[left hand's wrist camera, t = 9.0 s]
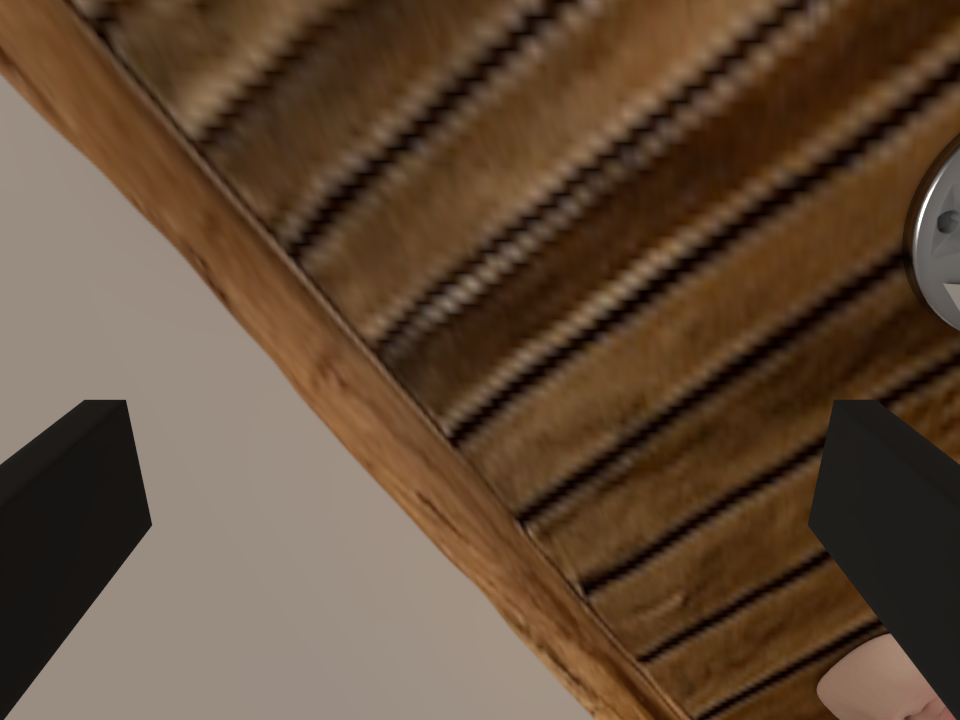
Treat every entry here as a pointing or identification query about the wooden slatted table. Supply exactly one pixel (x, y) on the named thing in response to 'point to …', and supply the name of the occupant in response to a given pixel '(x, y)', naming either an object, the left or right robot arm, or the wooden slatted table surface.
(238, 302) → the wooden slatted table surface
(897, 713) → the anatomical model
